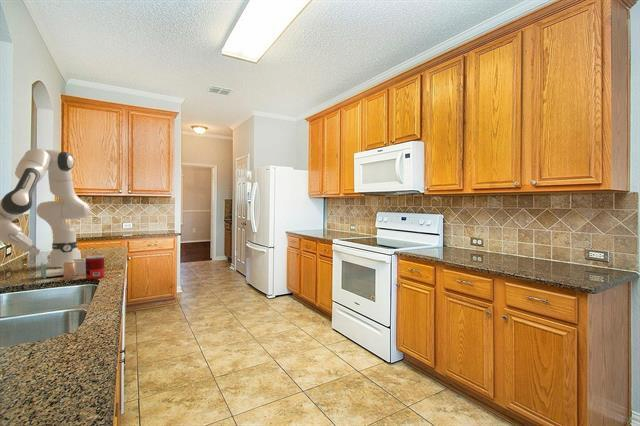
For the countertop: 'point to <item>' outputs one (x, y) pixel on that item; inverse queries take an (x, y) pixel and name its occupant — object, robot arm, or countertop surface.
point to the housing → (78, 265)
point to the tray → (50, 271)
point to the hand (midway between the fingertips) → (38, 253)
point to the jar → (69, 270)
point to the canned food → (95, 267)
